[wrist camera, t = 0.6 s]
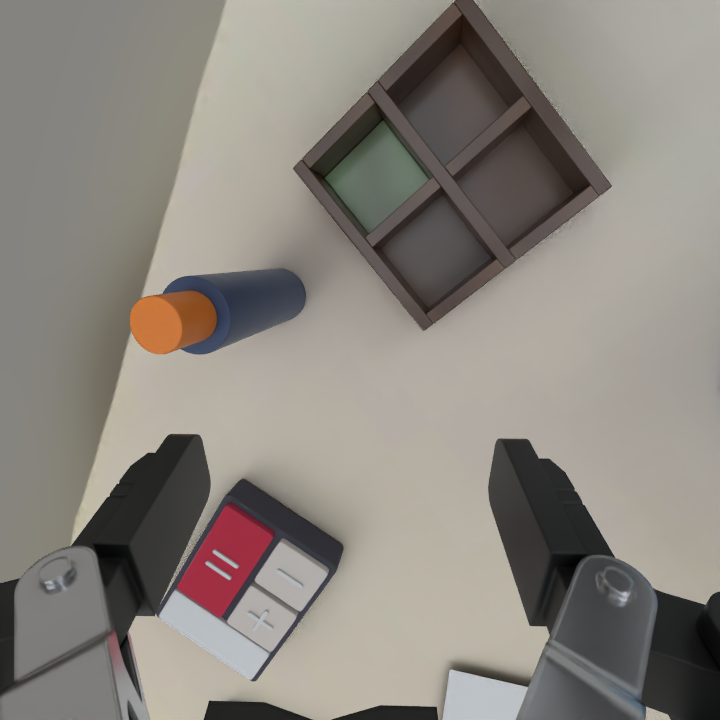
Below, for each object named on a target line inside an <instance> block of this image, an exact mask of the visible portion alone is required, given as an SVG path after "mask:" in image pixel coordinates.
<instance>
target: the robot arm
mask: <svg viewBox="0 0 720 720" xmlns="http://www.w3.org/2000/svg"><path fill="white" fill-rule="evenodd" d="M574 489H575V488H574V487H573V485H572V483H571V482H570V480H569V478H568V476H567V475H566V473H565V472H564V471H563V470H562V469H561V468H559V467H558V466H557V465H556V464H555V463H554V462H552V461H551V460H550V459H539V458H538V456H537V454H536V453H535V451H534V449H533V447H532V445H531V443H530V441H529V440H527V439H498V440H497V441H496V444H495V449H494V455H493V461H492V466H491V472H490V478H489V486H488V491H489V501H490V505H491V509H492V512H493V515H494V518H495V521H496V524H497V527H498V530H499V533H500V536H501V539H502V542H503V545H504V548H505V551H506V555H507V558H508V561H509V564H510V567H511V570H512V573H513V576H514V579H515V582H516V585H517V588H518V591H519V594H520V597H521V600H522V604H523V607H524V610H525V613H526V616H527V619H528V622H529V625H530V626H547V628H548V631H549V634H550V637H549V639H548V641H547V642H546V644H545V647H544V649H543V651H542V654H541V656H540V659H539V661H538V664H537V667H536V669H535V672H534V674H533V677H532V679H531V682H530V684H529V687H528V689H527V692H526V695H525V697H524V700H523V702H522V705H521V707H520V710H519V712H518V715H517V718H516V720H645V718H646V706H647V707H649V708H652V709H655V710H657V711H660V712H663V713H665V714H668V715H669V717H670V719H671V720H720V592H717V593H715V594H713V595H712V596H711V597H710V599H709V600H708V602H707V604H706V605H704V604H700V603H697V602H694V601H690V600H687V599H683V598H680V597H677V596H673V595H670V594H666V593H663V592H660V591H658V590H655V589H653V588H652V586H651V584H650V583H649V582H648V580H647V579H646V578H645V577H644V576H643V575H642V574H641V573H640V572H638V571H637V570H636V569H635V568H633V567H632V566H630V565H629V564H627V563H625V562H623V561H621V560H619V559H616V558H615V557H614V555H613V553H612V552H611V550H610V548H609V546H608V545H607V543H606V541H605V540H604V538H603V536H602V534H601V533H600V531H599V529H598V528H597V526H596V524H595V522H594V521H593V519H592V517H591V516H590V514H589V512H588V511H587V509H586V507H585V505H583V504H582V500H581V499H580V497H579V495H578V493H577V492H575V490H574ZM209 493H210V474H209V470H208V465H207V460H206V456H205V451H204V446H203V442H202V439H201V437H200V435H198V434H170V435H168V436H167V437H166V438H165V440H164V441H163V443H162V444H161V446H160V447H159V449H158V450H157V451H156V453H147V454H146V455H145V456H143V457H142V458H141V459H139V460H138V461H137V462H135V463H134V464H133V465H131V466H130V468H129V469H128V470H127V472H126V473H125V474H124V476H123V477H122V478H121V480H120V483H119V484H117V485H116V486H115V488H114V489H113V490H112V492H111V493H110V497H107V498H106V500H105V501H104V503H103V504H102V505H101V507H100V508H99V509H98V511H97V512H96V513H95V515H94V516H93V517H92V519H91V520H90V521H89V523H88V524H87V525H86V527H85V528H84V529H83V531H82V532H81V533H80V535H79V536H78V537H77V539H76V540H75V541H74V543H73V544H72V545H71V546H70V547H66V548H62V549H59V550H56V551H54V552H52V553H50V554H48V555H46V556H45V557H43V558H41V559H40V560H38V561H37V562H35V563H34V564H33V565H32V566H31V567H30V568H29V569H28V570H27V571H26V572H25V573H24V574H23V575H22V577H21V578H19V579H16V580H12V581H8V582H4V583H0V720H150V717H149V713H148V709H147V705H146V701H145V697H144V692H143V688H142V684H141V679H140V675H139V671H138V667H137V662H136V658H135V654H134V650H133V645H132V641H131V637H130V634H129V632H128V630H129V628H130V626H131V624H132V622H133V620H134V618H135V616H155V614H156V612H157V610H158V607H159V605H160V603H161V601H162V599H163V597H164V594H165V592H166V590H167V588H168V586H169V583H170V581H171V579H172V577H173V575H174V573H175V570H176V568H177V566H178V564H179V562H180V559H181V557H182V555H183V553H184V551H185V549H186V546H187V544H188V542H189V540H190V538H191V535H192V533H193V531H194V529H195V527H196V524H197V522H198V520H199V518H200V516H201V514H202V511H203V509H204V507H205V505H206V503H207V500H208V497H209ZM204 720H312V719H309V718H306V717H303V716H301V715H298V714H295V713H292V712H290V711H287V710H284V709H281V708H279V707H276V706H273V705H270V704H268V703H265V702H230V701H209V704H208V707H207V711H206V714H205V717H204ZM332 720H438V714H437V707H421V706H383V705H380V706H377V707H373V708H370V709H366V710H363V711H359V712H356V713H353V714H349V715H346V716H342V717H339V718H335V719H332Z"/></svg>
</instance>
